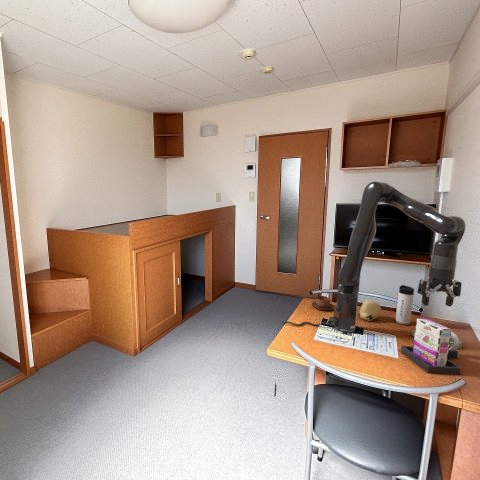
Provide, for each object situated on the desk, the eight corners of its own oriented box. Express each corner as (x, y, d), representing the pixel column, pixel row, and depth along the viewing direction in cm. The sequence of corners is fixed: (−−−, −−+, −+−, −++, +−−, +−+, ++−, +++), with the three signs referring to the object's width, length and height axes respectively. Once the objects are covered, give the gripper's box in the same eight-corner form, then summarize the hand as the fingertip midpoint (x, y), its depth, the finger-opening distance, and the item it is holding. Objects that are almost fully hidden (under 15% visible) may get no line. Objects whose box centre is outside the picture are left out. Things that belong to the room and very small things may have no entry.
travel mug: (404, 320, 172) (408, 285, 169) (412, 325, 166) (417, 289, 163) (392, 319, 173) (396, 284, 170) (400, 325, 167) (404, 288, 163)
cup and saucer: (313, 302, 199) (314, 293, 198) (335, 306, 192) (336, 297, 191) (309, 309, 189) (310, 299, 188) (332, 313, 182) (333, 303, 181)
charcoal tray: (427, 372, 124) (428, 366, 124) (400, 351, 140) (401, 345, 140) (460, 374, 123) (461, 368, 123) (428, 352, 139) (429, 346, 139)
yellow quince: (359, 321, 180) (351, 312, 175) (368, 304, 182) (361, 294, 177) (377, 327, 171) (369, 318, 166) (387, 309, 173) (379, 299, 169)
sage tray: (429, 347, 144) (429, 341, 143) (411, 335, 155) (412, 330, 155) (461, 348, 142) (462, 343, 142) (441, 336, 154) (442, 331, 153)
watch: (443, 350, 141) (446, 327, 139) (461, 360, 133) (465, 335, 131) (431, 351, 140) (434, 327, 138) (448, 360, 132) (452, 336, 130)
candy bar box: (447, 367, 126) (452, 329, 124) (435, 368, 126) (441, 329, 123) (421, 353, 137) (426, 317, 135) (411, 353, 137) (415, 318, 134)
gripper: (454, 264, 128) (448, 302, 130) (416, 263, 129) (411, 301, 132) (470, 269, 120) (463, 309, 123) (430, 268, 122) (424, 308, 125)
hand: (436, 305), depth 127 cm, fingers open, 8 cm apart
